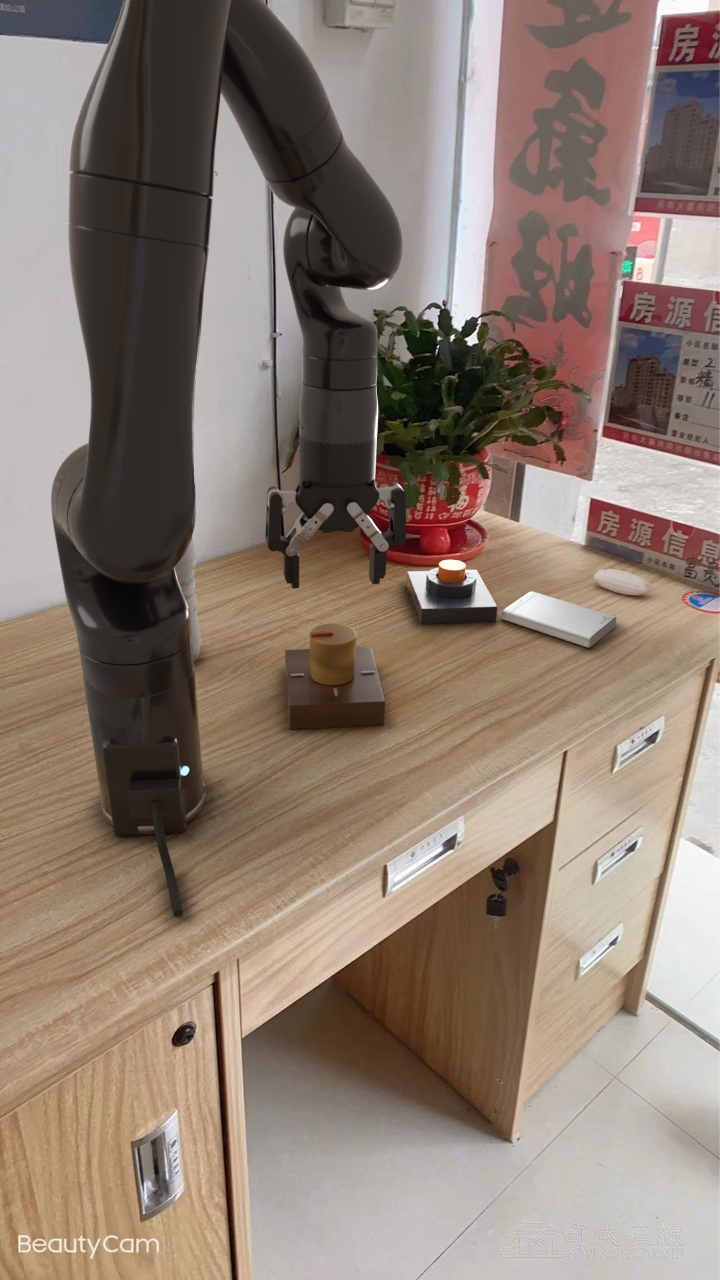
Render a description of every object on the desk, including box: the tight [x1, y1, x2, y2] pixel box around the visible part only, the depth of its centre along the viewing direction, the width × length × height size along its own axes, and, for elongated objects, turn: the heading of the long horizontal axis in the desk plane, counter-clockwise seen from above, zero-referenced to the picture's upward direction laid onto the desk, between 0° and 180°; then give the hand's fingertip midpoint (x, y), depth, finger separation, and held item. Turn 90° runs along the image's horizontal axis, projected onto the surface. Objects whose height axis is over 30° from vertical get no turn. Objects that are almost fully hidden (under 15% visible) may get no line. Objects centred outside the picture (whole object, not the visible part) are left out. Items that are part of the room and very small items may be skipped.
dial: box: [309, 623, 357, 685], centre depth 96 cm, size 5×5×5 cm
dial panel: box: [284, 646, 386, 730], centre depth 98 cm, size 12×10×3 cm
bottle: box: [175, 537, 202, 662], centre depth 101 cm, size 7×7×20 cm
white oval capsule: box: [592, 568, 652, 596], centre depth 124 cm, size 3×8×3 cm, turn 54°
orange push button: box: [438, 559, 467, 583], centre depth 118 cm, size 4×4×2 cm
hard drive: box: [500, 590, 617, 649], centre depth 115 cm, size 2×8×12 cm
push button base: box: [405, 566, 498, 625], centre depth 120 cm, size 12×10×4 cm
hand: (334, 583), depth 93 cm, fingers open, 8 cm apart
